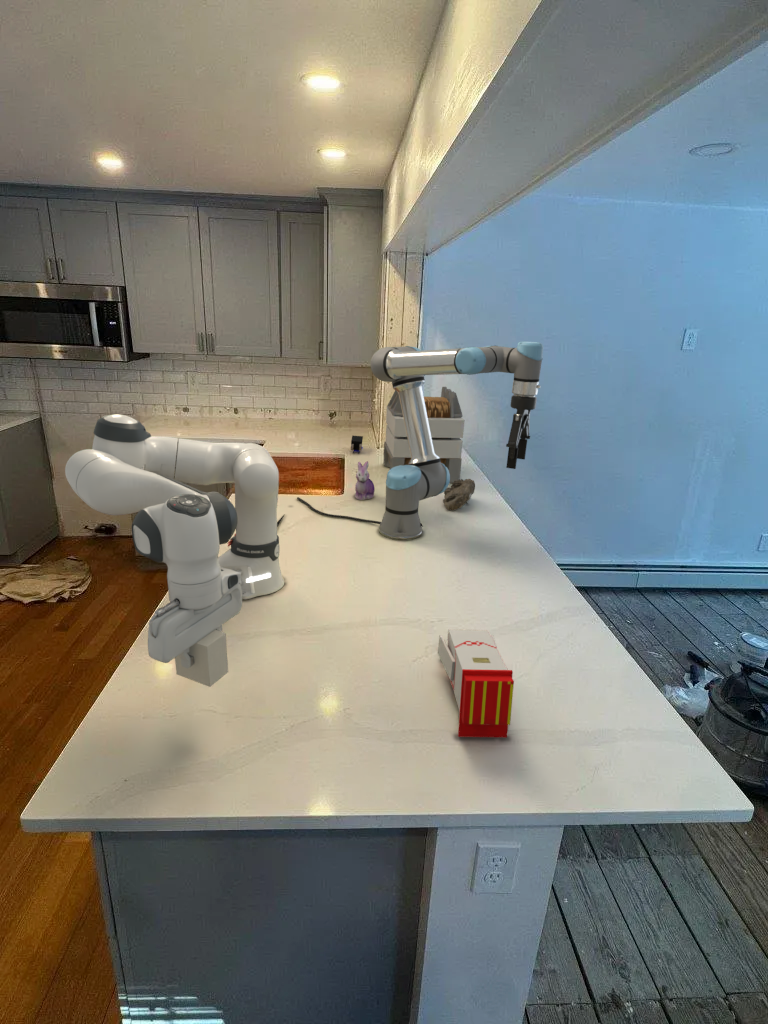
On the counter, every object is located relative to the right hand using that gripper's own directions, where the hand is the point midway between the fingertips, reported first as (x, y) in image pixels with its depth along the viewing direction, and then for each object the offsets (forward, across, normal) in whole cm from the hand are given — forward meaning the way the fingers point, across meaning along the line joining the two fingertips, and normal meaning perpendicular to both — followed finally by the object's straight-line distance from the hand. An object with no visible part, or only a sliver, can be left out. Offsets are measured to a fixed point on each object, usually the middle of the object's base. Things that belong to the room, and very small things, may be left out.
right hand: (515, 463), depth 178 cm
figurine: (+30, +27, +66) cm, 77 cm away
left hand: (+16, -108, +32) cm, 114 cm away
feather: (+30, -12, +80) cm, 87 cm away
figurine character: (+30, +95, +105) cm, 145 cm away
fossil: (+30, +40, +29) cm, 58 cm away
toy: (+30, -77, -11) cm, 83 cm away
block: (+20, -108, +31) cm, 115 cm away
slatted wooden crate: (+30, +74, +59) cm, 100 cm away
